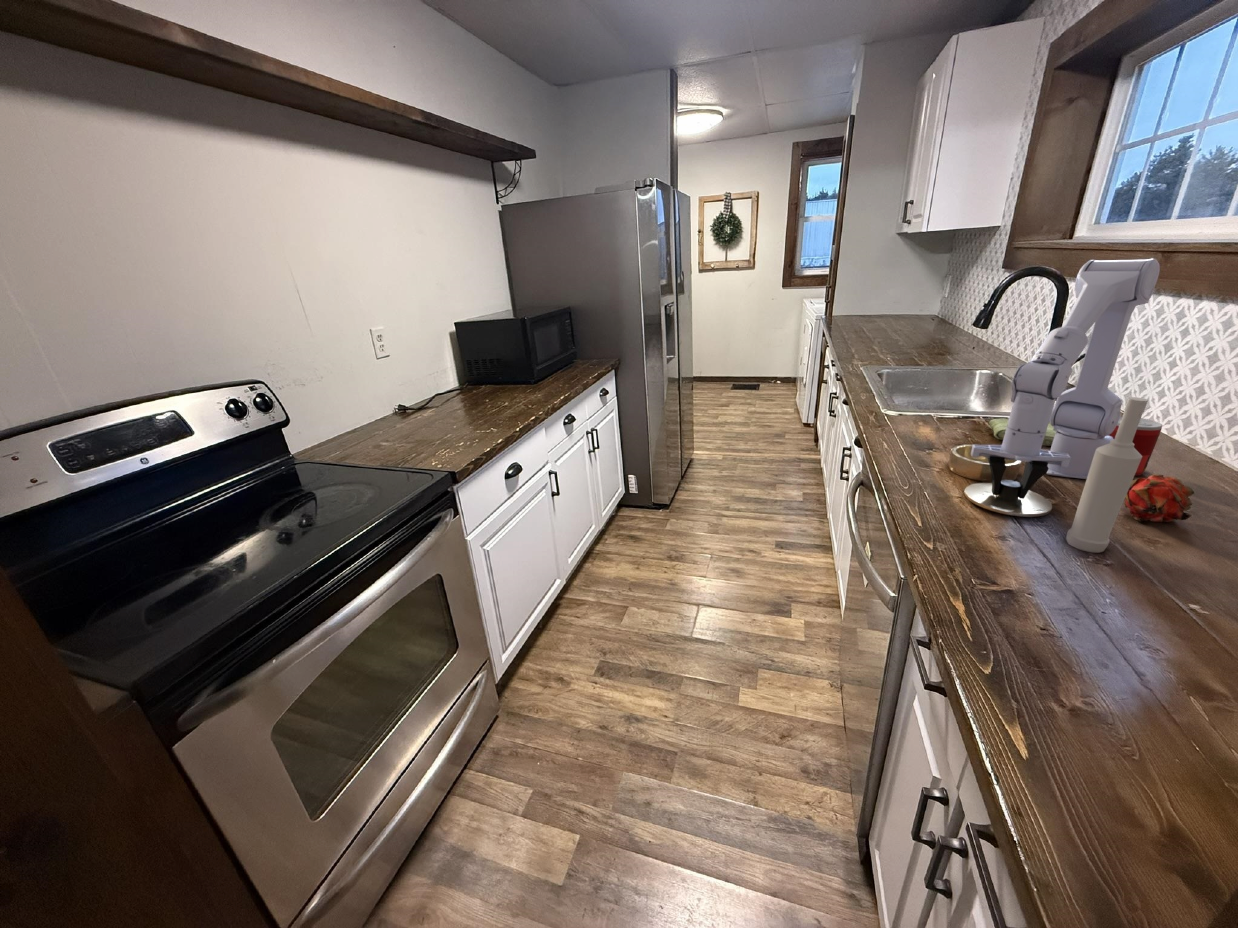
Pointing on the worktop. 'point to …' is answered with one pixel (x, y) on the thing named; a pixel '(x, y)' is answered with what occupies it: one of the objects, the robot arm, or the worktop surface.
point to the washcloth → (1001, 425)
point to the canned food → (1143, 440)
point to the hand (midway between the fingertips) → (1007, 494)
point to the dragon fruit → (1158, 499)
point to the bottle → (1107, 484)
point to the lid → (1008, 499)
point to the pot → (978, 465)
